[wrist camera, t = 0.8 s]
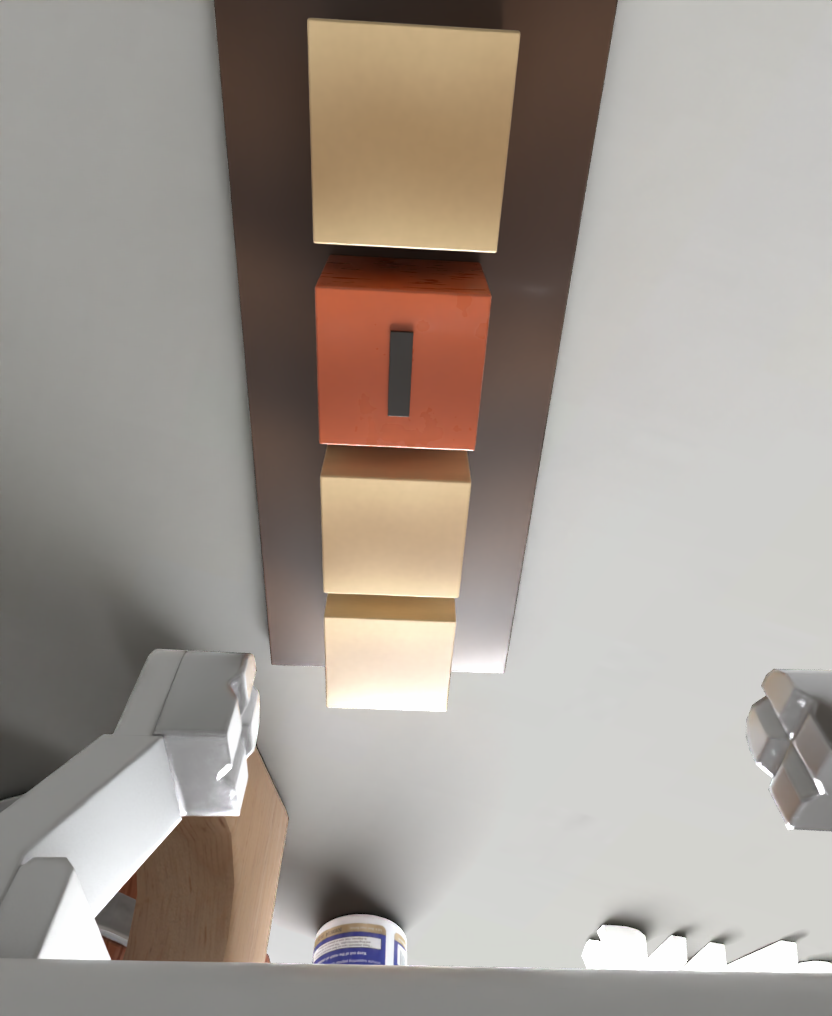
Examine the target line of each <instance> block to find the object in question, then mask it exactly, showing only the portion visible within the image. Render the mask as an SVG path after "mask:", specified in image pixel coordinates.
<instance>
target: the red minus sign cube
mask: <svg viewBox="0 0 832 1016" xmlns="http://www.w3.org/2000/svg"><path fill="white" fill-rule="evenodd" d="M491 299H492V296H491V293H490V290H489V287H488V284H487V281H486V278H485V275H484V272H483V269H482V266H481V263H478V262H458V261H439V260H420V259H401V258H382V257H363V256H344V255H330V256H329V258H328V260H327V262H326V264H325V266H324V268H323V271H322V273H321V275H320V277H319V279H318V281H317V284H316V286H315V318H316V354H317V389H318V424H319V442H320V444H331V445H353V446H375V447H398V448H420V449H442V450H465V451H474V450H475V446H476V436H477V427H478V418H479V409H480V400H481V391H482V381H483V372H484V363H485V354H486V345H487V336H488V327H489V317H490V308H491Z"/></svg>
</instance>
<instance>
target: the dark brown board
mask: <svg viewBox="0 0 832 1016" xmlns="http://www.w3.org/2000/svg"><path fill="white" fill-rule="evenodd" d="M617 2H618V0H214V8H215V19H216V31H217V42H218V54H219V66H220V77H221V89H222V100H223V112H224V123H225V135H226V146H227V158H228V169H229V181H230V192H231V204H232V215H233V227H234V238H235V250H236V261H237V273H238V284H239V296H240V307H241V319H242V330H243V342H244V353H245V365H246V376H247V388H248V400H249V411H250V423H251V434H252V446H253V457H254V469H255V480H256V492H257V503H258V515H259V526H260V538H261V549H262V561H263V572H264V584H265V595H266V607H267V618H268V630H269V641H270V653H271V664H272V665H287V666H315V667H325V676H326V706H327V707H330V708H359V709H388V710H418V711H446V710H447V703H448V693H449V684H450V675H451V671H455V672H483V673H504V672H505V667H506V661H507V655H508V649H509V643H510V637H511V631H512V625H513V619H514V613H515V607H516V601H517V595H518V590H519V584H520V578H521V572H522V566H523V560H524V554H525V548H526V542H527V536H528V530H529V524H530V518H531V512H532V506H533V500H534V495H535V489H536V483H537V477H538V471H539V465H540V459H541V453H542V447H543V441H544V435H545V429H546V423H547V417H548V411H549V405H550V400H551V394H552V388H553V382H554V376H555V370H556V364H557V358H558V352H559V346H560V340H561V334H562V328H563V322H564V316H565V310H566V305H567V299H568V293H569V287H570V281H571V275H572V269H573V263H574V257H575V251H576V245H577V239H578V233H579V227H580V221H581V215H582V210H583V204H584V198H585V192H586V186H587V180H588V174H589V168H590V162H591V156H592V150H593V144H594V138H595V132H596V126H597V120H598V115H599V109H600V103H601V97H602V91H603V85H604V79H605V73H606V67H607V61H608V55H609V49H610V43H611V37H612V31H613V25H614V20H615V14H616V8H617ZM330 255H344V256H363V257H382V258H401V259H420V260H439V261H458V262H478V263H481V266H482V269H483V272H484V275H485V278H486V281H487V284H488V287H489V290H490V293H491V296H492V299H491V308H490V317H489V327H488V336H487V345H486V354H485V363H484V372H483V381H482V391H481V400H480V409H479V418H478V427H477V436H476V446H475V450H474V451H465V450H442V449H420V448H398V447H375V446H353V445H331V444H320V442H319V424H318V389H317V354H316V318H315V286H316V284H317V281H318V279H319V277H320V275H321V273H322V271H323V268H324V266H325V264H326V262H327V260H328V258H329V256H330Z"/></svg>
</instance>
